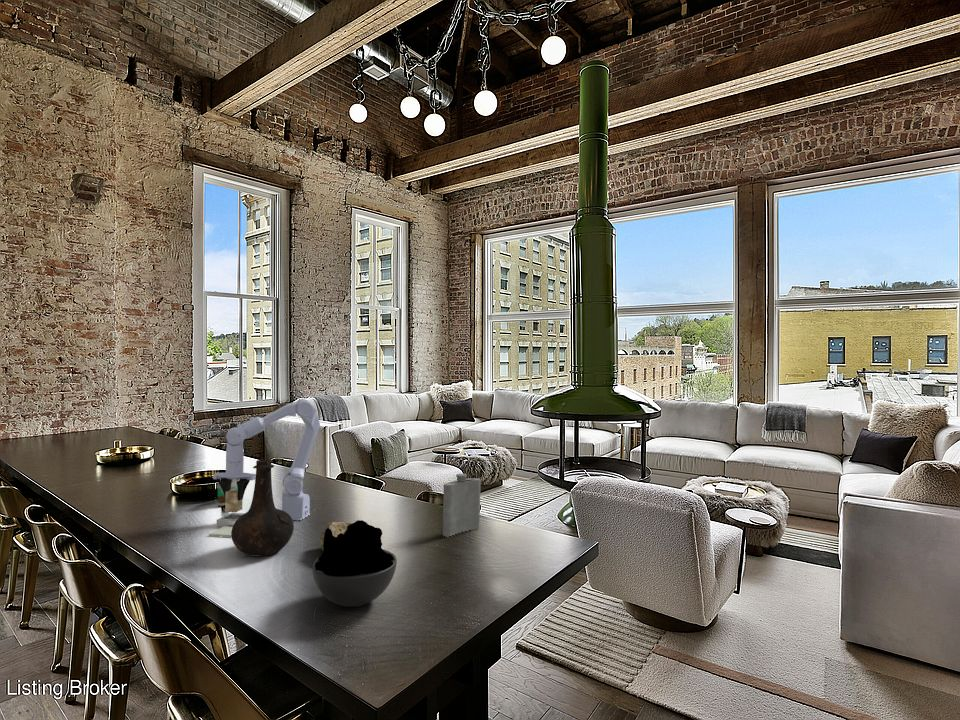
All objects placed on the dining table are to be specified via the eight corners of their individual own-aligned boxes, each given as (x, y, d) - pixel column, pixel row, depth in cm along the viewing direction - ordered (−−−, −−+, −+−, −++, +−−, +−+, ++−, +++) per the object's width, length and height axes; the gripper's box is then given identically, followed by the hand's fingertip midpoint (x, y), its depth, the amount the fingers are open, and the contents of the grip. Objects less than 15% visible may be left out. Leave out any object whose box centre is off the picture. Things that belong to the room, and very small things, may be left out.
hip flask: (446, 537, 172) (447, 478, 173) (439, 534, 175) (440, 476, 176) (481, 528, 183) (482, 472, 183) (473, 525, 186) (474, 470, 186)
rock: (387, 560, 154) (383, 531, 152) (344, 584, 145) (338, 553, 143) (354, 535, 169) (350, 508, 167) (313, 555, 160) (308, 527, 158)
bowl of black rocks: (400, 584, 135) (402, 513, 135) (389, 623, 115) (391, 539, 115) (324, 584, 134) (325, 512, 135) (299, 623, 114) (301, 538, 115)
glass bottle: (271, 564, 147) (273, 467, 147) (216, 559, 151) (219, 463, 151) (304, 543, 164) (306, 456, 165) (255, 539, 168) (256, 453, 168)
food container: (231, 508, 202) (232, 483, 202) (216, 508, 202) (216, 483, 202) (246, 500, 214) (247, 476, 214) (232, 500, 214) (232, 476, 214)
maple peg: (242, 509, 185) (242, 489, 185) (235, 512, 181) (236, 492, 181) (231, 508, 186) (232, 489, 186) (225, 511, 182) (225, 492, 182)
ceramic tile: (248, 530, 177) (248, 527, 177) (234, 537, 169) (234, 535, 169) (223, 528, 178) (223, 526, 178) (209, 536, 170) (209, 533, 170)
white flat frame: (267, 521, 186) (267, 514, 186) (253, 529, 178) (254, 522, 178) (231, 519, 188) (232, 512, 188) (216, 527, 179) (216, 519, 179)
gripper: (259, 459, 187) (259, 497, 187) (221, 458, 188) (220, 496, 188) (250, 463, 180) (249, 502, 180) (210, 462, 181) (209, 501, 181)
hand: (234, 499), depth 183 cm, fingers closed on maple peg, 4 cm apart
